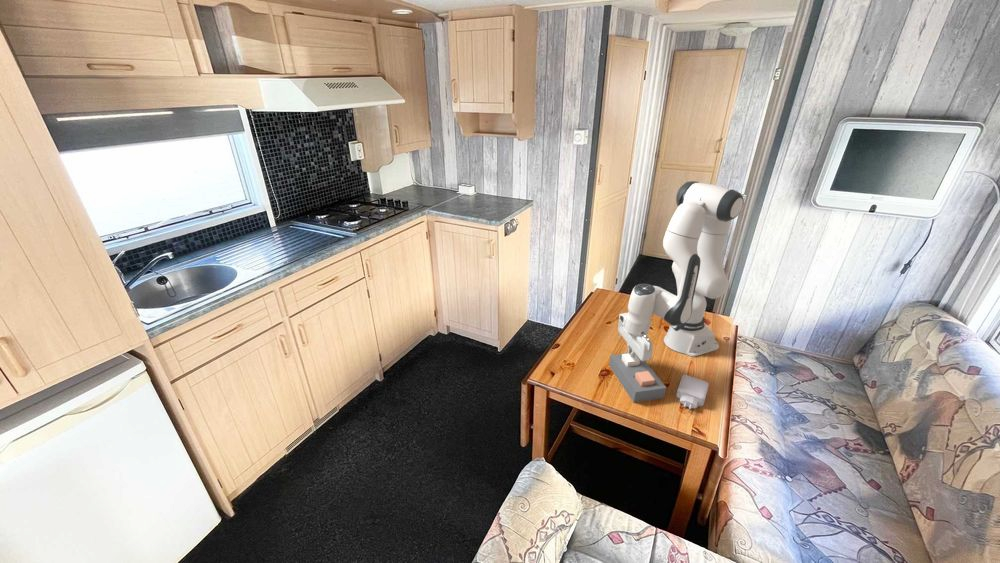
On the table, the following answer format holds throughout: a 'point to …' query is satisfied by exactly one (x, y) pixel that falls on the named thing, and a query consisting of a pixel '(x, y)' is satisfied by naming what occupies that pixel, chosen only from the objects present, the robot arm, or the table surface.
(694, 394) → the charger
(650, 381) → the terracotta key
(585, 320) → the table surface
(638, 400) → the console
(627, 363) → the white key
